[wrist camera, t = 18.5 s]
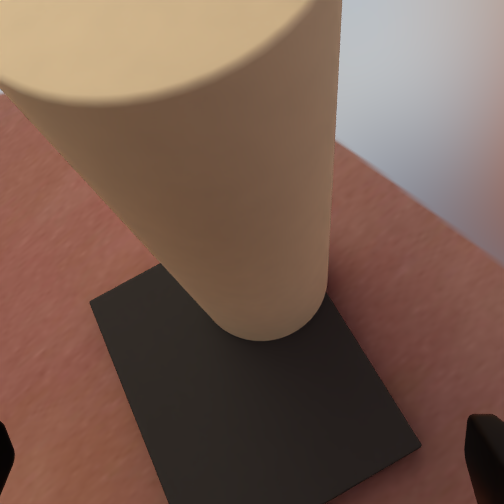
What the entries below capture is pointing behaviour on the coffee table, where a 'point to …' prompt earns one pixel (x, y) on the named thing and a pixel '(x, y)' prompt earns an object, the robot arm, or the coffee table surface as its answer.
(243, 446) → the mat
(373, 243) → the coffee table surface
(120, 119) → the candle
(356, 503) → the coffee table surface
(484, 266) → the coffee table surface
